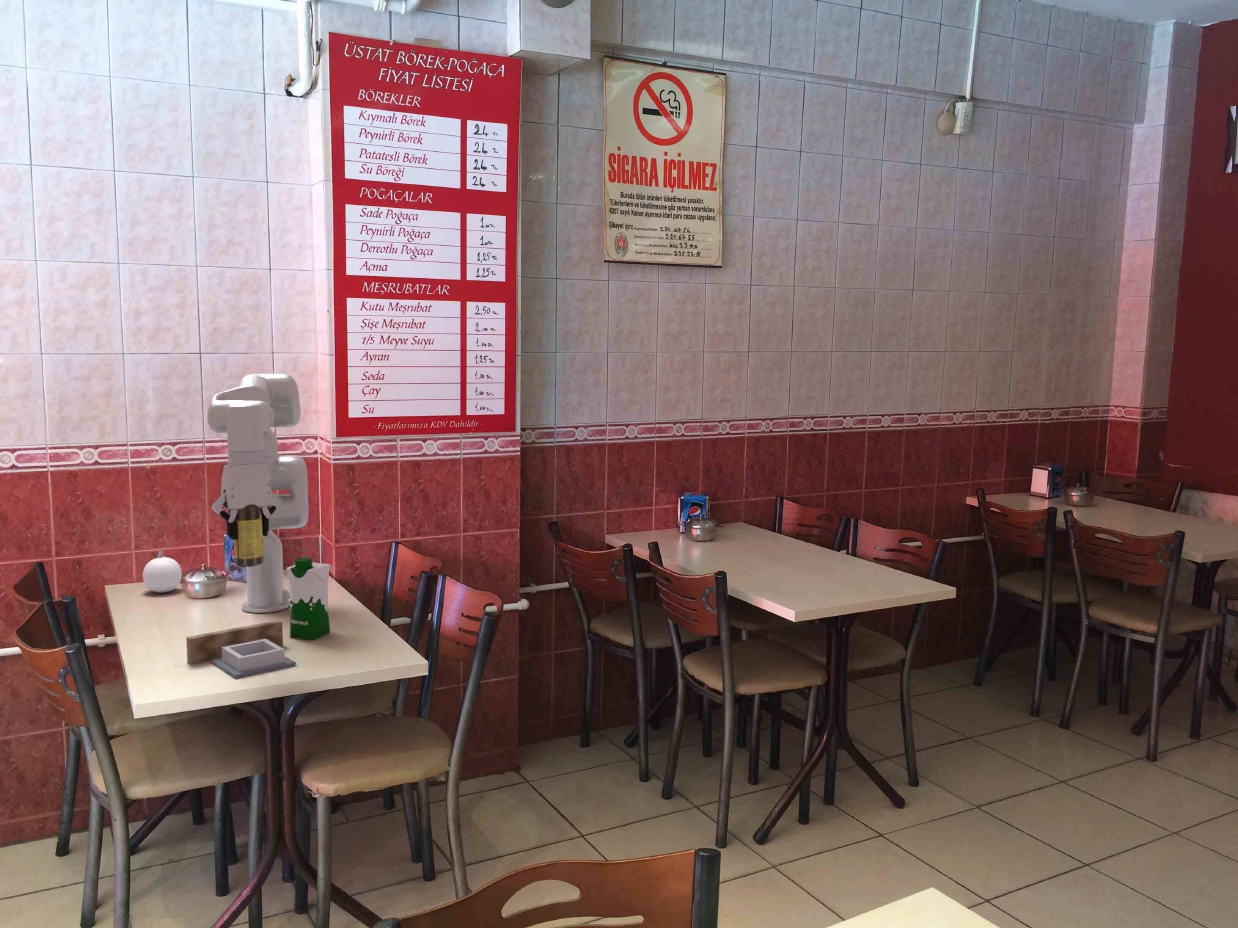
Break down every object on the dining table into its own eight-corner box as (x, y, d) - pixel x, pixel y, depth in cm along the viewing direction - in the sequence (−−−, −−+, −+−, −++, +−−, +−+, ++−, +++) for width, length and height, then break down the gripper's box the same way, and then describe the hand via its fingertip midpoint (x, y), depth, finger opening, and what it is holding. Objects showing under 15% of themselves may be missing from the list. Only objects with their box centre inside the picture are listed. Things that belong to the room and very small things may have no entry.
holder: (270, 650, 239) (270, 635, 239) (295, 665, 229) (295, 649, 229) (211, 662, 230) (210, 646, 229) (235, 678, 220) (234, 662, 219)
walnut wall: (279, 643, 245) (278, 619, 244) (283, 645, 243) (282, 621, 243) (187, 662, 230) (186, 636, 229) (190, 664, 229) (189, 638, 228)
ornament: (151, 587, 297) (149, 548, 295) (186, 587, 298) (185, 547, 296) (138, 596, 286) (136, 555, 285) (175, 596, 288) (173, 555, 286)
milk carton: (284, 638, 250) (282, 559, 247) (307, 628, 258) (305, 552, 256) (314, 642, 247) (312, 562, 244) (335, 632, 255) (334, 555, 253)
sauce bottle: (269, 564, 228) (267, 477, 226) (247, 569, 223) (245, 481, 220) (250, 560, 231) (247, 475, 229) (228, 565, 226) (225, 478, 223)
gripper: (276, 454, 233) (278, 530, 235) (200, 459, 221) (203, 539, 223) (290, 457, 227) (292, 535, 229) (213, 462, 216) (215, 544, 218)
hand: (248, 536), depth 226 cm, fingers closed on sauce bottle, 6 cm apart
